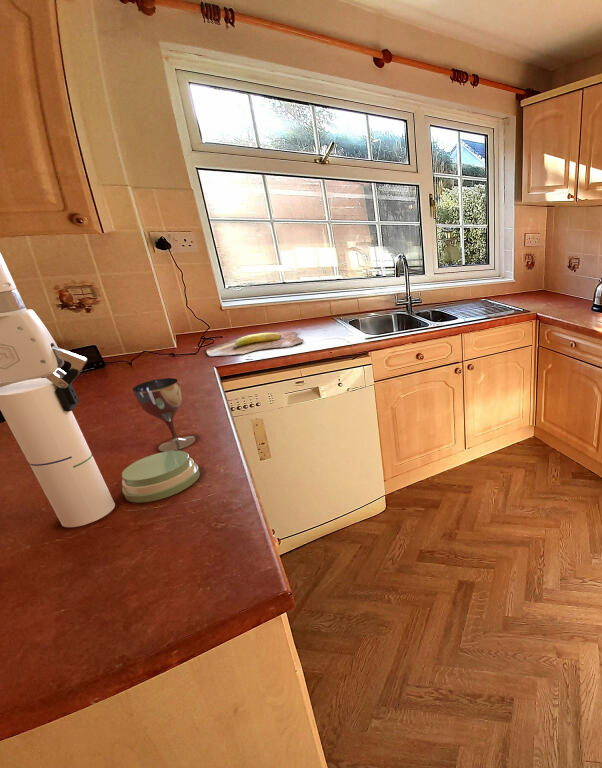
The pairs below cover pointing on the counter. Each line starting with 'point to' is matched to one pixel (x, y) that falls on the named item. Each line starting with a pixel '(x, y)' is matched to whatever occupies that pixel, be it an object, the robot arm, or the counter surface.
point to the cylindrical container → (56, 451)
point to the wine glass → (163, 407)
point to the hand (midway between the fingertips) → (39, 413)
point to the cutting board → (255, 343)
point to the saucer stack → (159, 476)
